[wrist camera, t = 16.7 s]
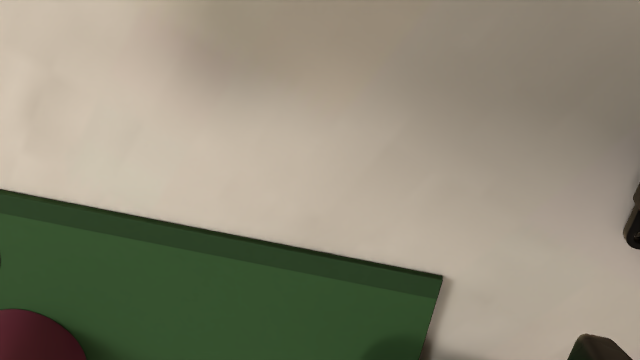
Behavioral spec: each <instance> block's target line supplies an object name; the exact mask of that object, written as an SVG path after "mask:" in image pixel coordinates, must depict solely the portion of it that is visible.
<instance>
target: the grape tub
mask: <svg viewBox="0 0 640 360" xmlns="http://www.w3.org/2000/svg"><path fill="white" fill-rule="evenodd" d="M0 360H86V356H85V354H84V351H83V349H82V348H81V346H80V344H79V343H78V342H77V340H76V339H75V338H74V337H73V336H72V335H71V334H70V333H69V332H68V331H67V330H66V329H65V328H63V327H62V326H61V325H59V324H58V323H56V322H55V321H53V320H51V319H49V318H47V317H45V316H43V315H41V314H38V313H35V312H32V311H27V310H21V309H5V310H0Z"/></svg>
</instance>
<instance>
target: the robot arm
mask: <svg viewBox="0 0 640 360" xmlns="http://www.w3.org/2000/svg"><path fill="white" fill-rule="evenodd" d="M633 200H634V202H635V203H636V204H635V206H634V208H633V210H632V212H631V215H630V217H629V219H628V221H627V223H626V225H625V228H624V231H623V235H624V238H625V240H626V242H627V243H628V244H629V245H630V246H631V247H633V248H635V249H640V237H634V236H635V234H636V233H638V232H640V183H639V185H638V187H637V190H636V192H635V194H634V196H633ZM0 267H1V254H0ZM567 360H632V359H631V358H630V357H629V356H628V355H627V354H626V353H625V352H624V351H623V350H622V349H621V348H620V347H619V346H618V345H617V344H616V343H615V342H614V341H612V340H611V339H609V338H605V337H600V336H595V335H589V334H583V335H580V336H579V337H578V339H577V340H576V342H575V344H574V346H573V349H572V351H571V353H570V355H569V357H568V359H567Z"/></svg>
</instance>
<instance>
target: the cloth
mask: <svg viewBox="0 0 640 360" xmlns="http://www.w3.org/2000/svg"><path fill="white" fill-rule="evenodd" d="M0 254H1V267H0V310H5V309H21V310H27V311H32V312H35V313H38V314H41V315H43V316H45V317H47V318H49V319H51V320H53V321H55V322H56V323H58V324H59V325H61V326H62V327H63V328H65V329H66V330H67V331H68V332H69V333H70V334H71V335H72V336H73V337H74V338H75V339H76V340H77V342H78V343H79V344H80V346H81V348H82V349H83V351H84V354H85V356H86V360H419V357H420V354H421V351H422V347H423V344H424V341H425V337H426V334H427V331H428V327H429V324H430V321H431V317H432V314H433V311H434V307H435V304H436V301H437V298H438V294H439V291H440V288H441V284H442V281H443V280H442V276H440V275H435V274H429V273H424V272H419V271H414V270H409V269H404V268H399V267H394V266H389V265H383V264H378V263H373V262H368V261H363V260H358V259H353V258H348V257H342V256H337V255H332V254H327V253H322V252H317V251H312V250H307V249H301V248H296V247H291V246H286V245H281V244H276V243H271V242H266V241H261V240H255V239H250V238H245V237H240V236H235V235H230V234H225V233H220V232H214V231H209V230H204V229H199V228H194V227H189V226H184V225H179V224H174V223H168V222H163V221H158V220H153V219H148V218H143V217H138V216H133V215H127V214H122V213H117V212H112V211H107V210H102V209H97V208H92V207H86V206H81V205H76V204H71V203H66V202H61V201H56V200H51V199H46V198H40V197H35V196H30V195H25V194H20V193H15V192H10V191H5V190H0Z"/></svg>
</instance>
